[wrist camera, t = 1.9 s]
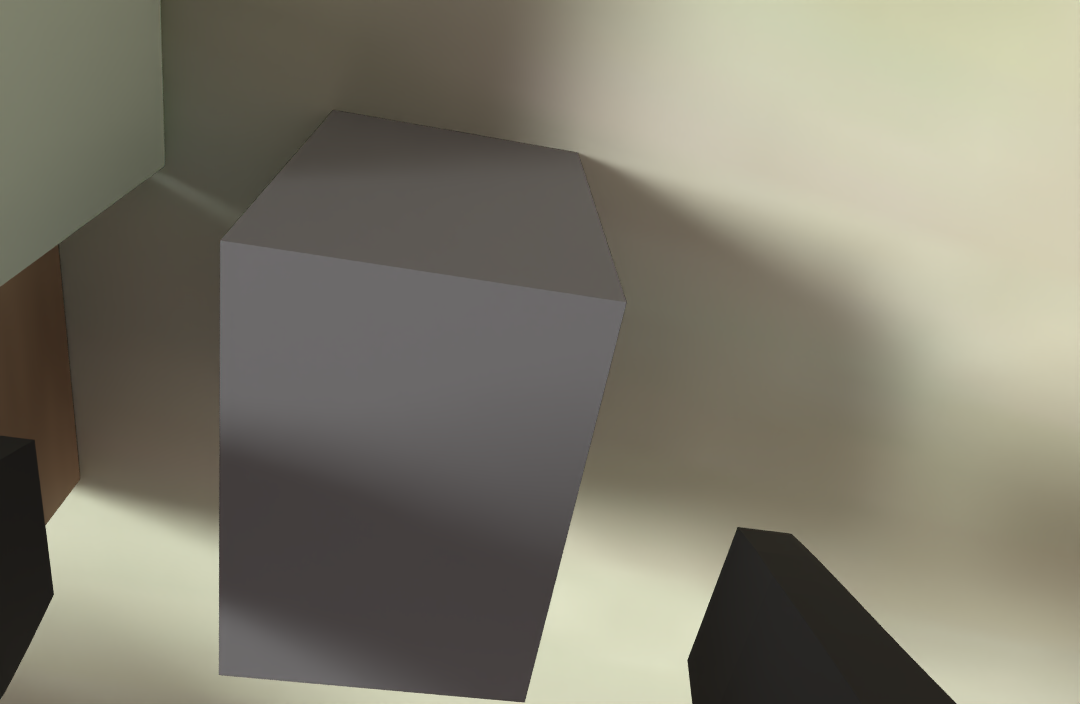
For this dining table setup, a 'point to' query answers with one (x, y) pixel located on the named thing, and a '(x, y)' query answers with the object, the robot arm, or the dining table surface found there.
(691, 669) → the robot arm
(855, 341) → the dining table surface
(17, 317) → the wall
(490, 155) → the block
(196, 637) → the dining table surface
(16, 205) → the door
